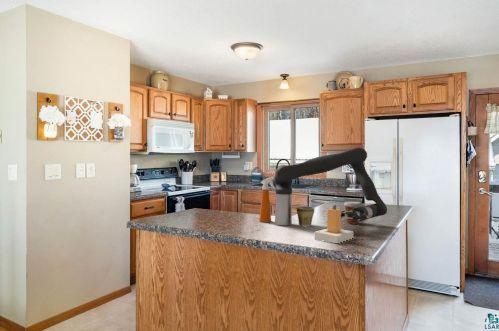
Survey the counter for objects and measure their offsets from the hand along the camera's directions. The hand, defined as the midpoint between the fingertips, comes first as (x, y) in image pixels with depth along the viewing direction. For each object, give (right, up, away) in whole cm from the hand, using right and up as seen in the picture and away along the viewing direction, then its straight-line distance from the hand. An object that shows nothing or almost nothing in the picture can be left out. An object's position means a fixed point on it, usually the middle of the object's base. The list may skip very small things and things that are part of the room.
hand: (345, 217), depth 169 cm
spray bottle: (-36, -8, +34) cm, 50 cm away
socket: (-7, -9, -6) cm, 13 cm away
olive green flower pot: (-16, -8, +25) cm, 30 cm away
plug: (-7, -9, -6) cm, 13 cm away
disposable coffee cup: (+13, -8, +31) cm, 35 cm away
